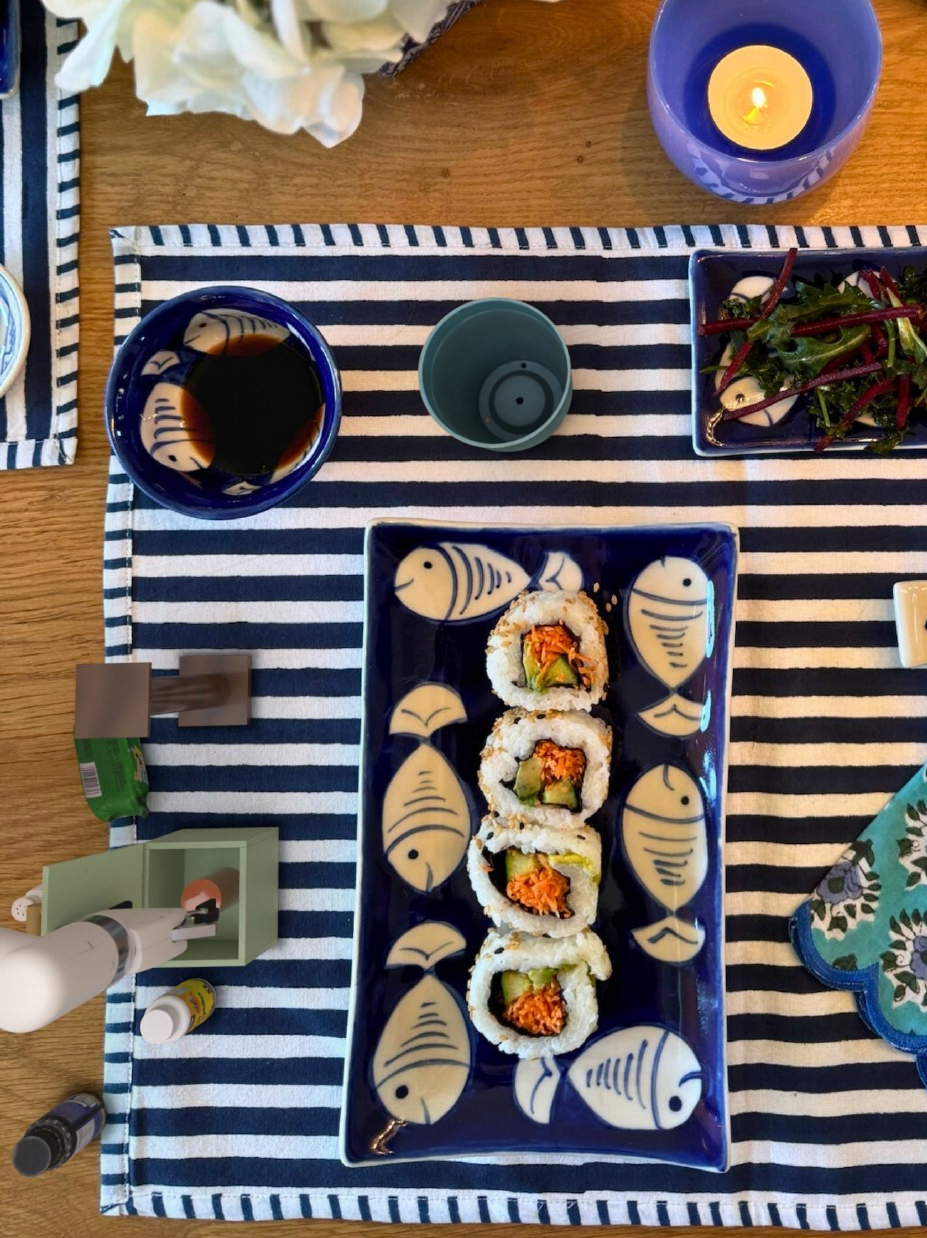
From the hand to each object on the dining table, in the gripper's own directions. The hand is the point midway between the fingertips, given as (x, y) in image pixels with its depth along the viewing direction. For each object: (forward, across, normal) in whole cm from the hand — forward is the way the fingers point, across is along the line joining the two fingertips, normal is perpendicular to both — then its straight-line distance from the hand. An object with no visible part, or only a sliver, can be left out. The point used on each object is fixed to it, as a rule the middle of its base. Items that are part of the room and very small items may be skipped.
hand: (171, 912), depth 126 cm
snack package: (+15, -13, +16) cm, 26 cm away
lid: (-3, -7, 0) cm, 8 cm away
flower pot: (+13, +39, +62) cm, 74 cm away
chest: (+14, +1, 0) cm, 14 cm away
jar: (+13, +1, 0) cm, 13 cm away
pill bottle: (+15, -17, -28) cm, 36 cm away
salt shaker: (+15, -19, 0) cm, 24 cm away
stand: (+14, -1, +25) cm, 29 cm away
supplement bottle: (+14, -3, -14) cm, 20 cm away
